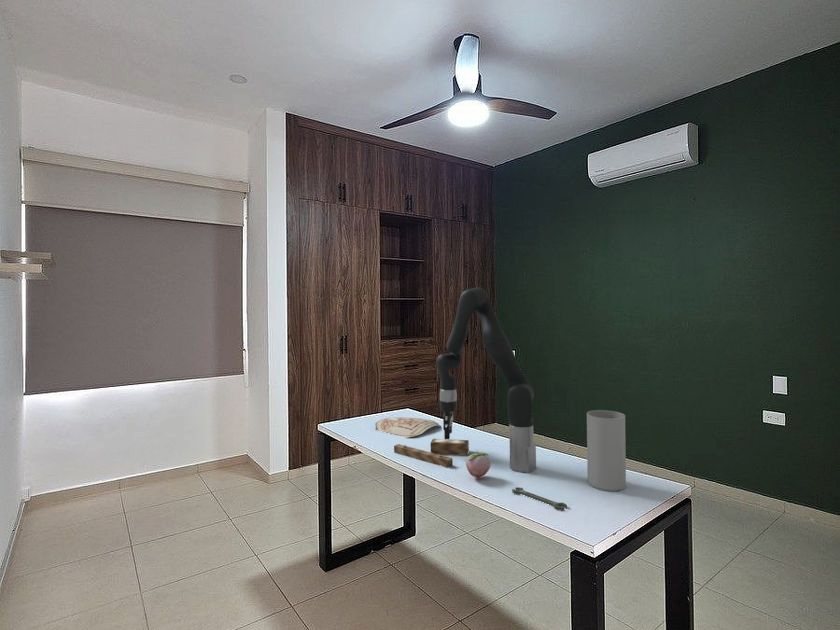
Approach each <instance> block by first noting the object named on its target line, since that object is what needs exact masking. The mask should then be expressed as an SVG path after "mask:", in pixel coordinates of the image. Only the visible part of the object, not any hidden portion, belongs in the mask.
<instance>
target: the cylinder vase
mask: <svg viewBox="0 0 840 630" xmlns="http://www.w3.org/2000/svg"><path fill="white" fill-rule="evenodd" d="M586 444H587V445H586V448H587V449H586V451H587V452H586V453H587V456H586V457H587V458H586V459H587V464H586V465H587V483H588V484H589V485H590V486H591V487H593V488H595V489H598V490H602V491H606V492H618V491H622V490H624V489H625V488H626V486H627V475H626V473H627V471H626V469H627V467H626V466H627V465H626V464H627V462H626V461H627V459H626V458H627V457H626V453H627V451H626V448H627V447H626V445H627V444H626V415H625V414H624V413H622V412H619V411H614V410H603V409H596V410H589V411H587V412H586Z"/></svg>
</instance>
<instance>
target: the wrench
mask: <svg viewBox="0 0 840 630" xmlns="http://www.w3.org/2000/svg"><path fill="white" fill-rule="evenodd" d="M513 493H514V494H513ZM511 494H513V495H520V494H522V495H521V496H523V495H525V496H524V497H526V496H527V497H526V498H529V497H530V498H529V499H531V498H533V499H532V500H534V499H535V501H537V500H538V501H537V502H539V501H541V502H540V503H542V502H544V503H543V504H545V503H546V504H545V505H547V504H549V505H548V506H550V505H551V506H550V507H553V509H554V510H555V509H556V510H555V511H559V510H564V511H565V509H568V505H567V503H564V502H557V501H554V500H551V499H549V498H547V497H546V498H545V497H544V496H540V495H537V494H534V493H532V492H530V491H527V490H525V489H524V488H523V487H519V486H518V487H515V488H512V489H511Z"/></svg>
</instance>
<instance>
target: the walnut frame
mask: <svg viewBox="0 0 840 630" xmlns="http://www.w3.org/2000/svg"><path fill="white" fill-rule="evenodd" d="M469 445H470V443H469V440H468V439H450V438H449V439H445V438H432V439H431V441H430V452H431V453H435V454H439V455H450V454H453V456H468V454H469V452H468V451H470V450H469V448H470V446H469Z"/></svg>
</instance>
